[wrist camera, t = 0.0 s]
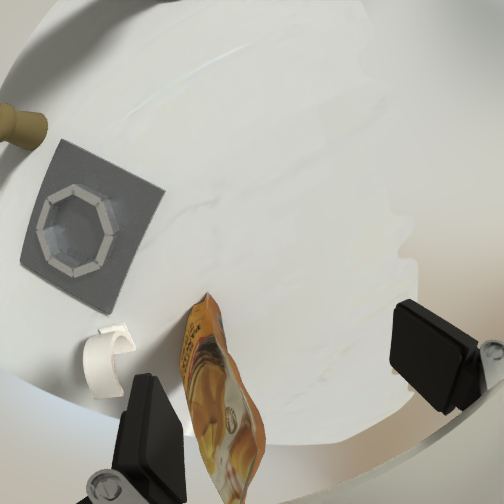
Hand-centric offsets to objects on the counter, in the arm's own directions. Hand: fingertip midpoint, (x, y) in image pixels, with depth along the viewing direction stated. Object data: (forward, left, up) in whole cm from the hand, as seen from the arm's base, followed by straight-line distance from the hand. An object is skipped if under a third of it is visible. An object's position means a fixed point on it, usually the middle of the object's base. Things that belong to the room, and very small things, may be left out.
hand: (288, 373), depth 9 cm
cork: (0, -34, -31) cm, 46 cm away
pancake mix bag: (+17, +6, -31) cm, 36 cm away
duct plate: (+9, -18, -31) cm, 37 cm away
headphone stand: (+23, -7, -31) cm, 39 cm away
